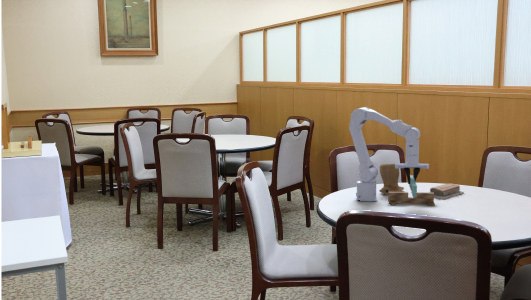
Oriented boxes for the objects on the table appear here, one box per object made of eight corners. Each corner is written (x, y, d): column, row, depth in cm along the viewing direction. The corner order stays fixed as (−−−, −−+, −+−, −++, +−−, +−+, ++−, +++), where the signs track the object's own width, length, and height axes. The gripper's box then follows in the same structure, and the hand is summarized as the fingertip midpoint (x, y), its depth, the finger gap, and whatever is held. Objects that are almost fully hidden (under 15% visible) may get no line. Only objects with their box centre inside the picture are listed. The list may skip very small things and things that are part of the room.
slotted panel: (416, 197, 201) (417, 186, 200) (412, 197, 201) (413, 186, 200) (412, 185, 216) (413, 175, 215) (409, 185, 216) (409, 175, 215)
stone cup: (384, 188, 247) (384, 160, 245) (406, 190, 240) (407, 162, 238) (373, 194, 235) (373, 164, 233) (396, 197, 228) (396, 166, 226)
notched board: (388, 204, 215) (389, 194, 214) (387, 200, 223) (388, 190, 222) (434, 205, 211) (435, 195, 210) (432, 201, 219) (432, 190, 218)
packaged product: (446, 181, 240) (464, 184, 232) (445, 190, 240) (463, 194, 232) (424, 186, 229) (442, 190, 221) (424, 196, 230) (442, 200, 222)
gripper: (427, 153, 214) (427, 182, 216) (394, 153, 217) (394, 181, 219) (429, 155, 208) (429, 185, 210) (396, 155, 210) (395, 185, 212)
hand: (411, 184), depth 214 cm, fingers closed on slotted panel, 1 cm apart
